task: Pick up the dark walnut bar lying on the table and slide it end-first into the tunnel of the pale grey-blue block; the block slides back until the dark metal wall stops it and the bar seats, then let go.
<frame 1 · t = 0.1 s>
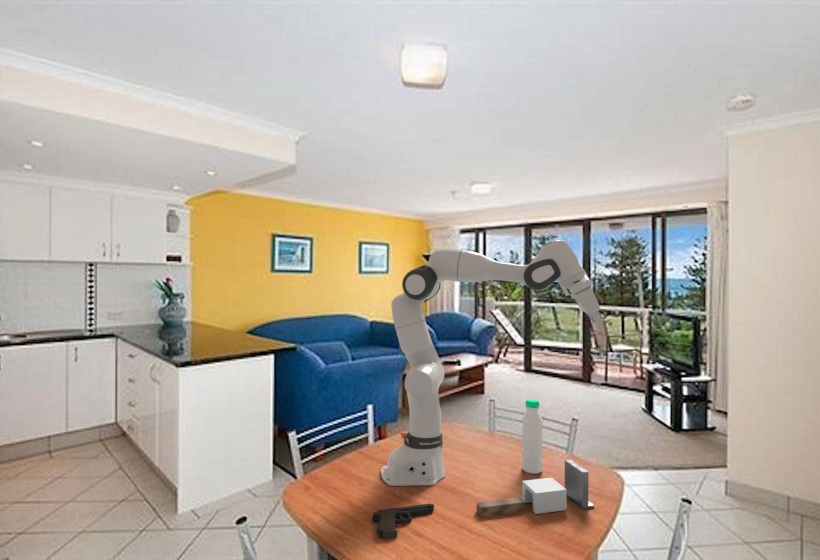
hand: (598, 323, 137), 54 cm above the table, tool tilted 30°, fingers open, 8 cm apart
walnut bar: (500, 512, 127), on the table
handgun: (407, 525, 121), on the table
tunnel block: (543, 495, 130), point 3 cm above the table, slide at 0.0 cm
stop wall: (576, 501, 133), on the table
water bottle: (531, 470, 155), on the table
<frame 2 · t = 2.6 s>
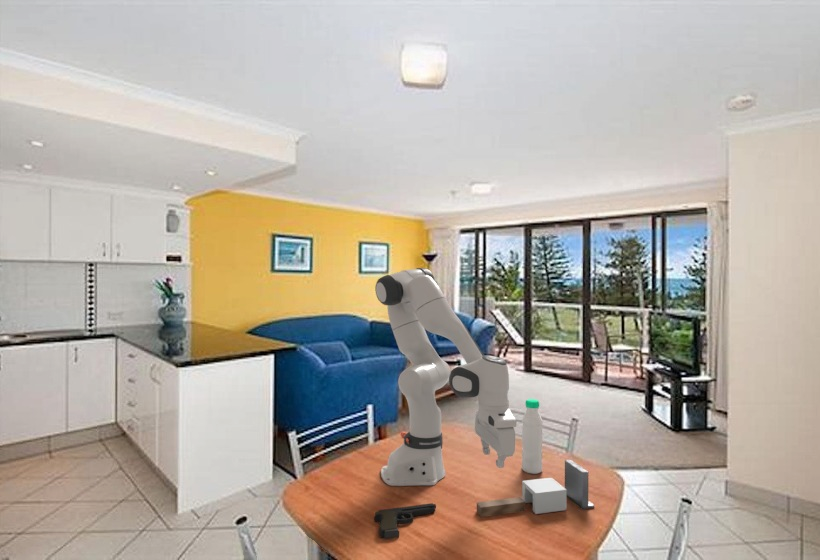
hand: (492, 460, 126), 15 cm above the table, tool pointing down, fingers open, 8 cm apart
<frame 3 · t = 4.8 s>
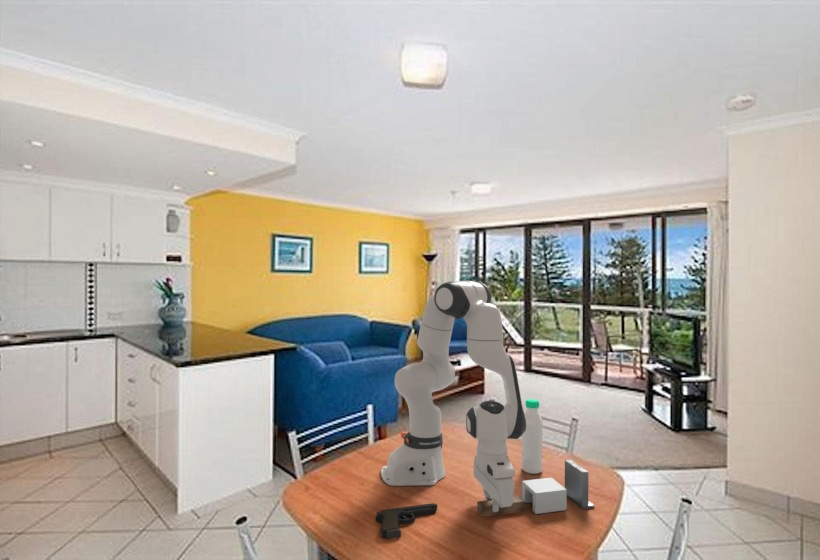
hand: (491, 506, 126), 2 cm above the table, tool pointing down, fingers closed on walnut bar, 3 cm apart
walnut bar: (501, 511, 127), on the table, touching gripper
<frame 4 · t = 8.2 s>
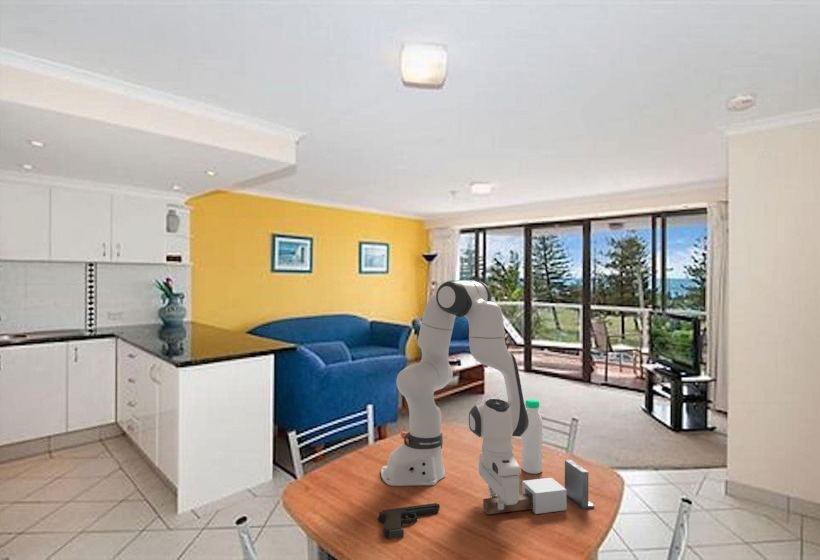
hand: (496, 504, 126), 2 cm above the table, tool pointing down, fingers closed on walnut bar, 3 cm apart
walnut bar: (507, 508, 127), point 1 cm above the table, touching gripper
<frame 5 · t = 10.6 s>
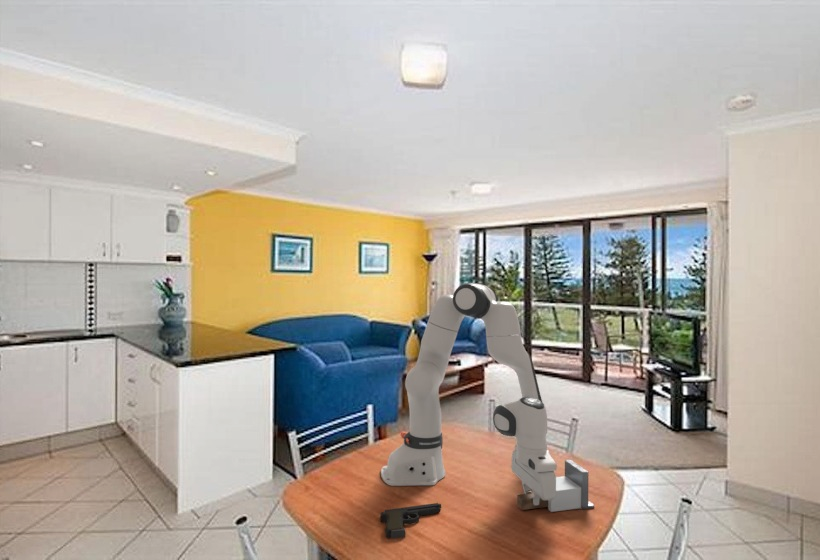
hand: (531, 500, 129), 2 cm above the table, tool pointing down, fingers closed on walnut bar, 3 cm apart
walnut bar: (541, 504, 130), point 1 cm above the table, touching gripper, tunnel block
tunnel block: (558, 493, 131), point 3 cm above the table, slide at 5.0 cm, touching walnut bar
when the fingers open (2 cm above the table, at t = 11.7 s): walnut bar stays where it is, on the table.
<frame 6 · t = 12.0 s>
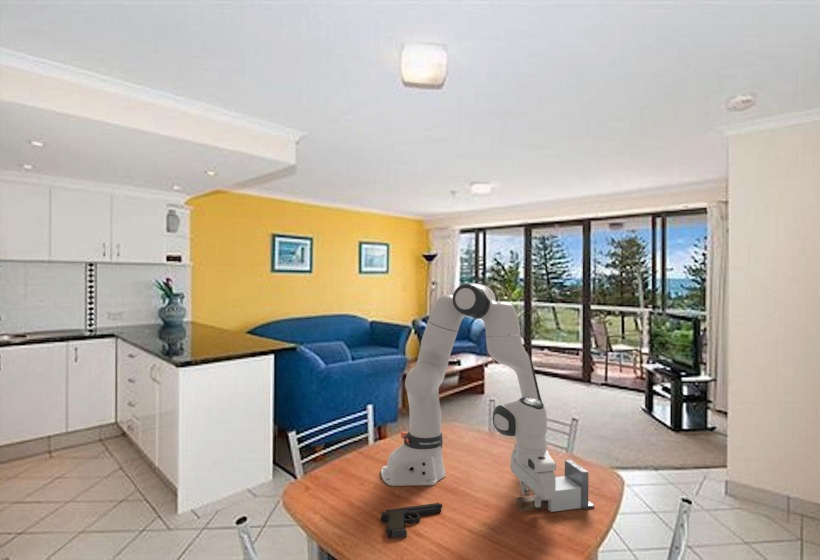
hand: (530, 500, 129), 2 cm above the table, tool pointing down, fingers open, 5 cm apart
walnut bar: (539, 507, 130), on the table
tunnel block: (558, 493, 131), point 3 cm above the table, slide at 5.0 cm
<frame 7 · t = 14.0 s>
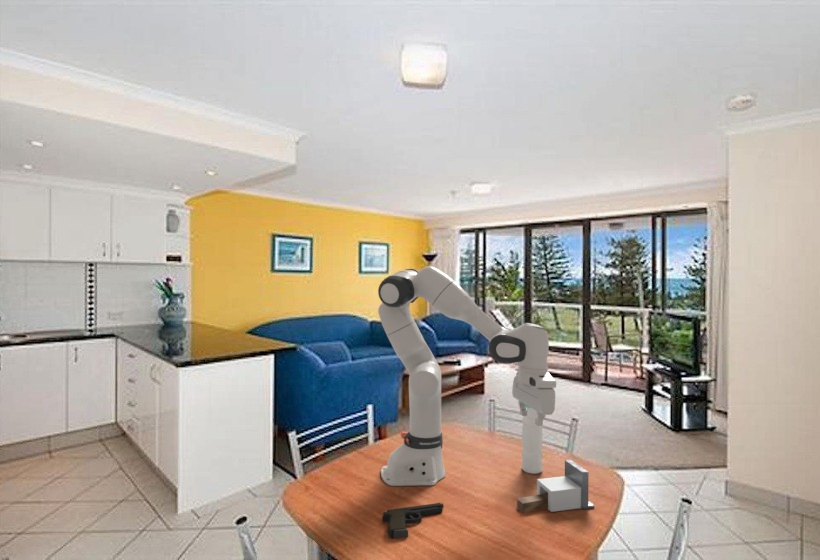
hand: (530, 420, 135), 24 cm above the table, tool pointing down, fingers open, 8 cm apart
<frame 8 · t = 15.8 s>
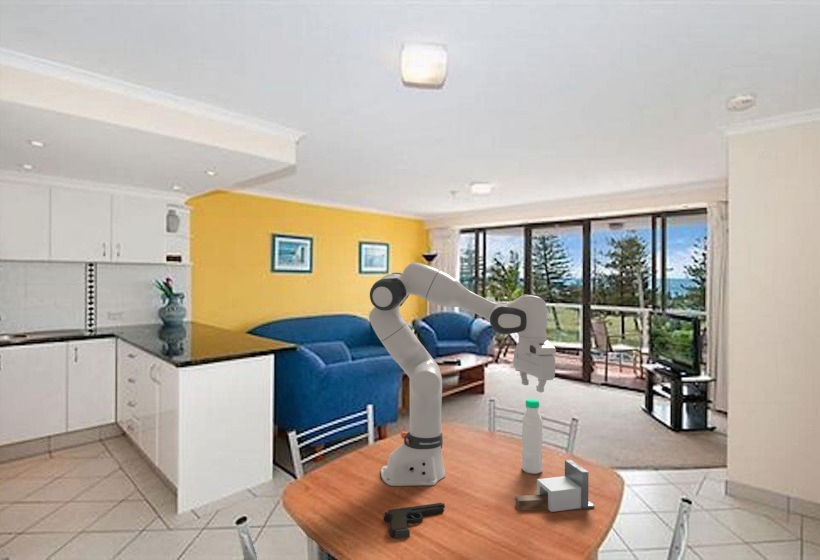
hand: (532, 388, 139), 33 cm above the table, tool pointing down, fingers open, 8 cm apart
at the end: tunnel block slide at 5.0 cm; walnut bar 0.1 cm from the target spot on the table beside the tunnel block, on the table; the gripper is holding nothing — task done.
